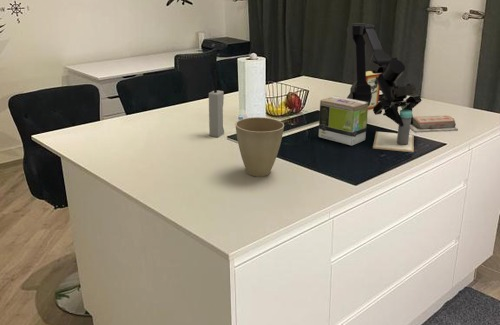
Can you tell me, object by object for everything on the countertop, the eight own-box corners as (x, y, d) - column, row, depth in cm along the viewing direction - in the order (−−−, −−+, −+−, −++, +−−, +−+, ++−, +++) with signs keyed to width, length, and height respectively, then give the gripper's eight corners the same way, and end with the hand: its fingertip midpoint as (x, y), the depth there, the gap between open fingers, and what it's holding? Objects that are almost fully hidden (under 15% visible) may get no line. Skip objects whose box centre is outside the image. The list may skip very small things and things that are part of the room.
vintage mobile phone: (224, 133, 202) (223, 68, 193) (218, 137, 198) (217, 71, 189) (215, 132, 204) (214, 68, 195) (209, 136, 200) (208, 70, 191)
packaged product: (447, 113, 216) (459, 120, 207) (445, 124, 218) (457, 131, 209) (405, 114, 213) (416, 121, 204) (404, 125, 215) (414, 133, 206)
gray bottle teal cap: (396, 144, 190) (399, 112, 186) (396, 140, 194) (400, 109, 189) (408, 145, 189) (412, 113, 185) (408, 141, 193) (412, 110, 188)
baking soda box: (367, 104, 244) (370, 70, 238) (377, 107, 239) (381, 72, 233) (352, 107, 239) (355, 72, 233) (363, 110, 234) (366, 75, 228)
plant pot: (246, 184, 158) (246, 134, 152) (228, 167, 170) (228, 120, 165) (290, 177, 163) (292, 128, 158) (270, 161, 176) (271, 115, 170)
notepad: (372, 148, 189) (372, 146, 188) (376, 132, 206) (376, 130, 205) (413, 152, 185) (413, 150, 185) (413, 135, 202) (413, 134, 202)
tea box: (366, 140, 197) (369, 101, 192) (351, 146, 190) (354, 106, 185) (332, 131, 207) (335, 94, 201) (317, 137, 200) (319, 99, 194)
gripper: (381, 78, 182) (401, 117, 177) (421, 73, 190) (440, 110, 185) (364, 95, 191) (382, 133, 186) (403, 89, 199) (421, 125, 195)
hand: (407, 125), depth 188 cm, fingers open, 4 cm apart
